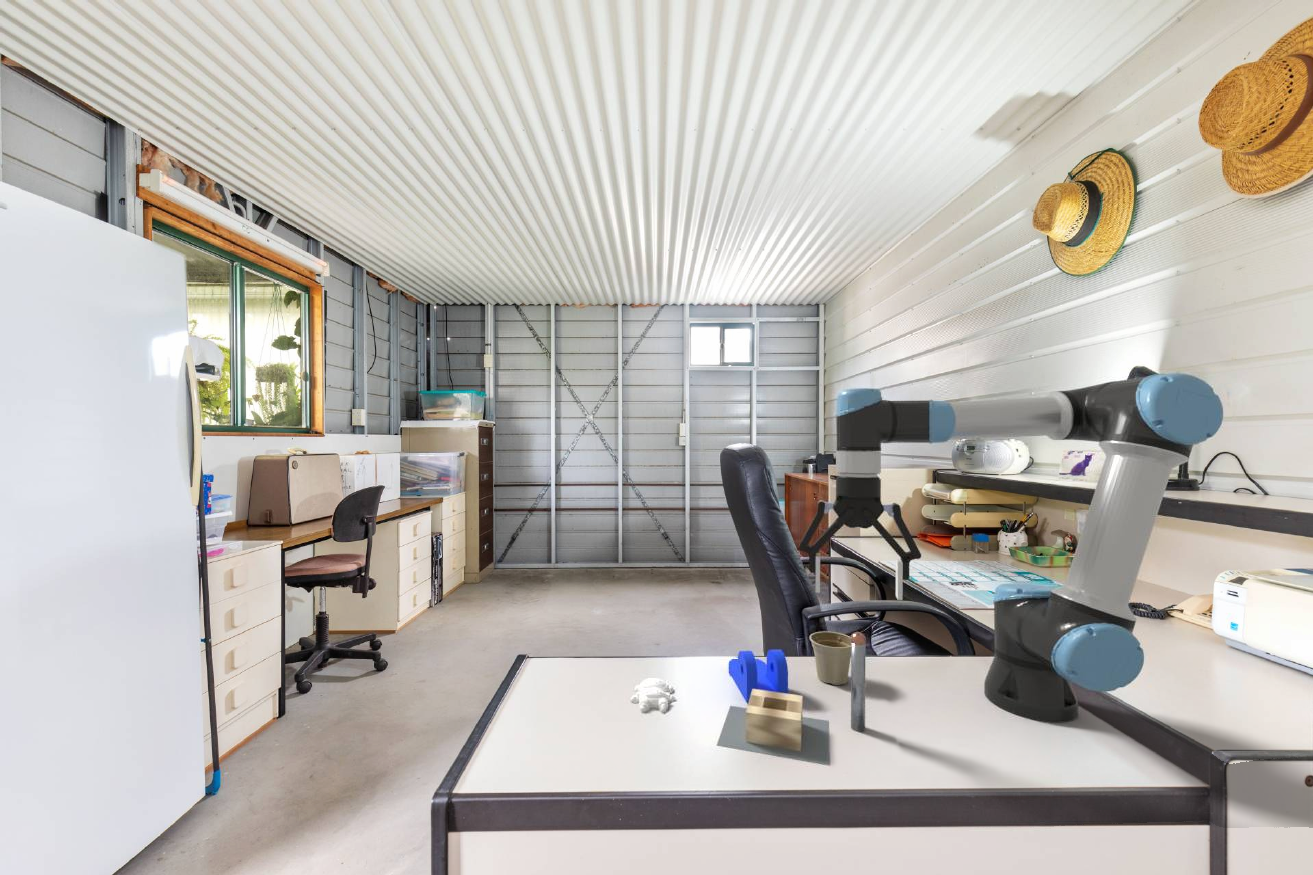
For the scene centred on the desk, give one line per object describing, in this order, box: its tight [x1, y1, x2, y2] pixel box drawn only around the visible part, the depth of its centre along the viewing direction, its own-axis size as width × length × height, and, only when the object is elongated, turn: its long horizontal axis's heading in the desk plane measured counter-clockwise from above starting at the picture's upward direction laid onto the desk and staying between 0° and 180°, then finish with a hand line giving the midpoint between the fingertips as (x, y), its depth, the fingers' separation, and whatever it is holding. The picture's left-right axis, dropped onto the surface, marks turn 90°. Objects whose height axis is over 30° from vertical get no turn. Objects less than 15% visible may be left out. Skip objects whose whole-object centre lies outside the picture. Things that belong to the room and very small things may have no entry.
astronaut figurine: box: [630, 677, 676, 714], centre depth 106 cm, size 9×12×3 cm
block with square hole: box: [746, 689, 804, 751], centre depth 93 cm, size 9×9×5 cm
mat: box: [716, 705, 831, 766], centre depth 93 cm, size 18×14×1 cm
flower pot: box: [809, 631, 851, 686], centre depth 115 cm, size 9×9×9 cm
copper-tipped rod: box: [850, 631, 867, 733], centre depth 94 cm, size 3×3×17 cm
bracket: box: [728, 648, 789, 704], centre depth 113 cm, size 18×8×9 cm, turn 6°
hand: (857, 594), depth 95 cm, fingers open, 13 cm apart
